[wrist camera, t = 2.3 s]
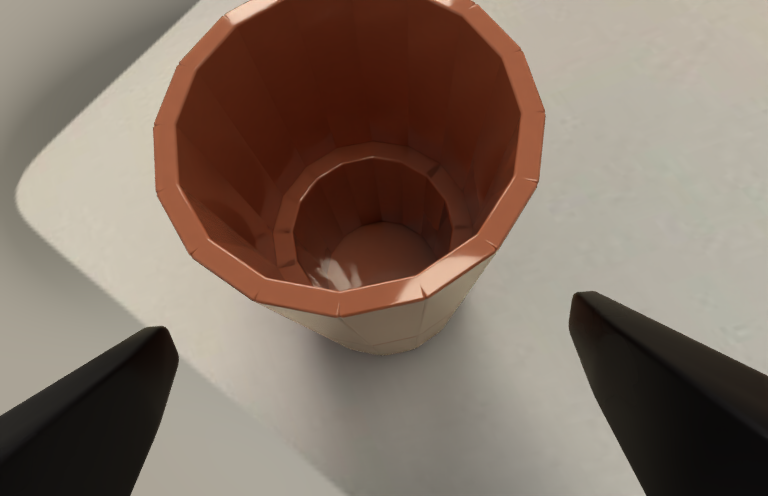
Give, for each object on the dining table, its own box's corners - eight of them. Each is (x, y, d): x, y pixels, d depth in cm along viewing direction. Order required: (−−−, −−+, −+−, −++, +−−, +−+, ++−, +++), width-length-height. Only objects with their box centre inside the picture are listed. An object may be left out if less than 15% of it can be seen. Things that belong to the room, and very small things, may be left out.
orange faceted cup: (447, 369, 19) (522, 353, 7) (291, 338, 20) (92, 271, 7) (469, 219, 21) (559, -12, 9) (327, 196, 22) (220, -46, 9)
